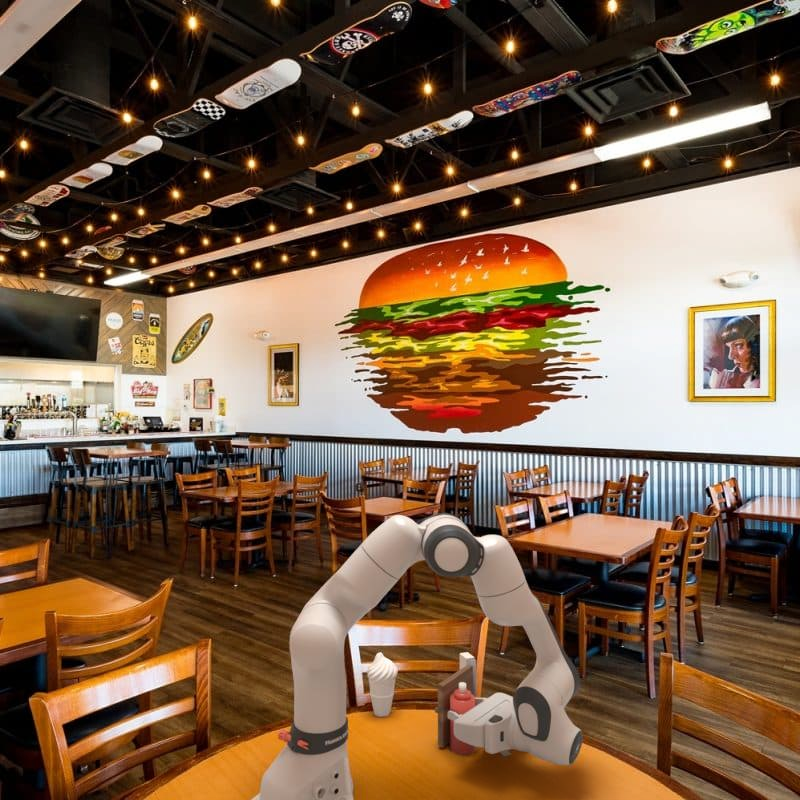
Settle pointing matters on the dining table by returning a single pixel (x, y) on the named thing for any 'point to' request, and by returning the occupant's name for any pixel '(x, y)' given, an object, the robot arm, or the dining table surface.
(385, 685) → the soft serve ice cream cone
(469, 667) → the door
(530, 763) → the dining table surface
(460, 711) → the ketchup bottle
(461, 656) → the white-tipped grey slat
